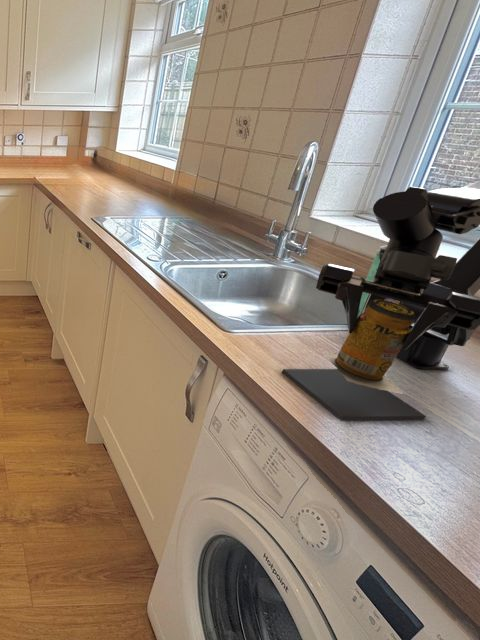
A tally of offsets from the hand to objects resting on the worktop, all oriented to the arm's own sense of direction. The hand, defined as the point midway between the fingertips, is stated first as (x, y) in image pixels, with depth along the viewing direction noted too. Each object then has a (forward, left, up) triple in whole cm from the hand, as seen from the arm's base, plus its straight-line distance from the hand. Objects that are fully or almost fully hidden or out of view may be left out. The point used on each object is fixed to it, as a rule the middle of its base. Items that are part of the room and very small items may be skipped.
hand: (376, 340), depth 63 cm
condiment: (-1, -1, -7) cm, 7 cm away
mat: (-2, -2, -12) cm, 12 cm away
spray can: (-31, -27, -12) cm, 43 cm away
